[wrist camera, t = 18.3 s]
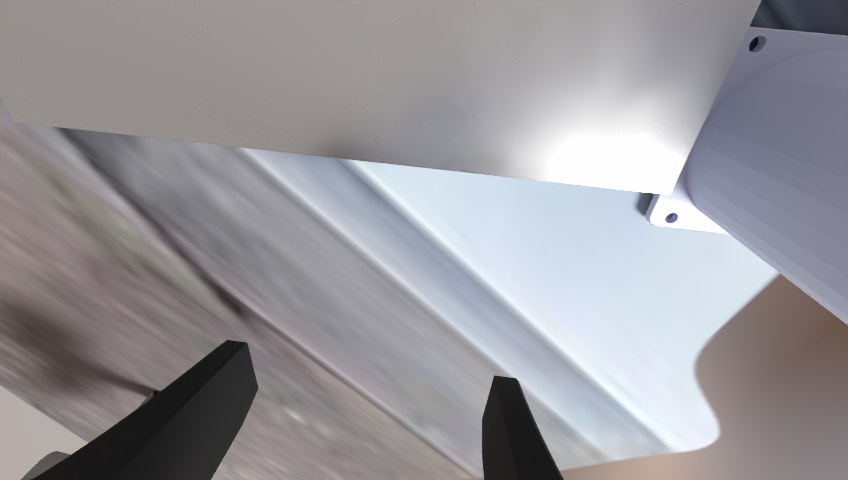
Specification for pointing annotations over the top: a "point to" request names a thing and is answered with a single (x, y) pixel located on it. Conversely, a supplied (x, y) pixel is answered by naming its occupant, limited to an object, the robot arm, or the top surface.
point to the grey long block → (388, 79)
